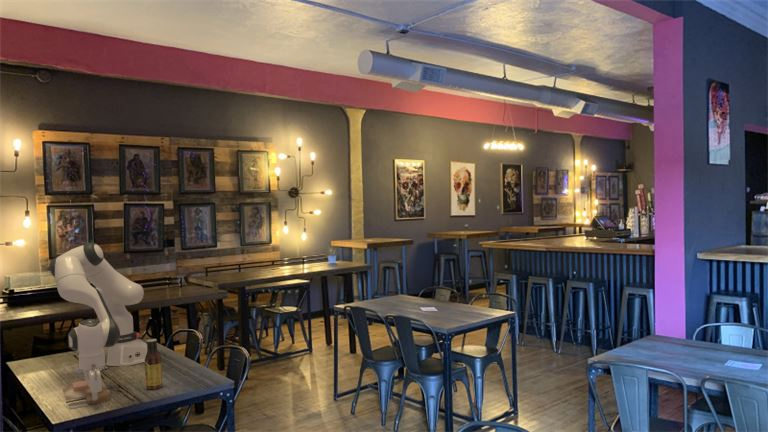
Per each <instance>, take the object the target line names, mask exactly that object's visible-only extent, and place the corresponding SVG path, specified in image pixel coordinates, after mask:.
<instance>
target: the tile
mask: <svg viewBox="0 0 768 432" xmlns="http://www.w3.org/2000/svg"><path fill="white" fill-rule="evenodd" d="M71 384H72V388H73V390H74V392H76V391H81V390H86V389H89V387H88V385H87V383H86V380H81V381H80V380H79V381H76V382H71Z"/></svg>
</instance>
